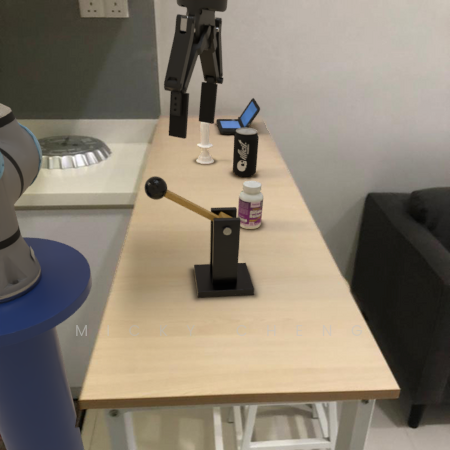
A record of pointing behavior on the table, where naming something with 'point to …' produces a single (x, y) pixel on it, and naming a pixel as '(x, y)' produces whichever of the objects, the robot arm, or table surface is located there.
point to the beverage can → (245, 152)
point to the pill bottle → (250, 205)
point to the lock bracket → (223, 260)
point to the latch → (176, 198)
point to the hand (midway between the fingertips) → (192, 129)
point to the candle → (205, 144)
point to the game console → (239, 119)
